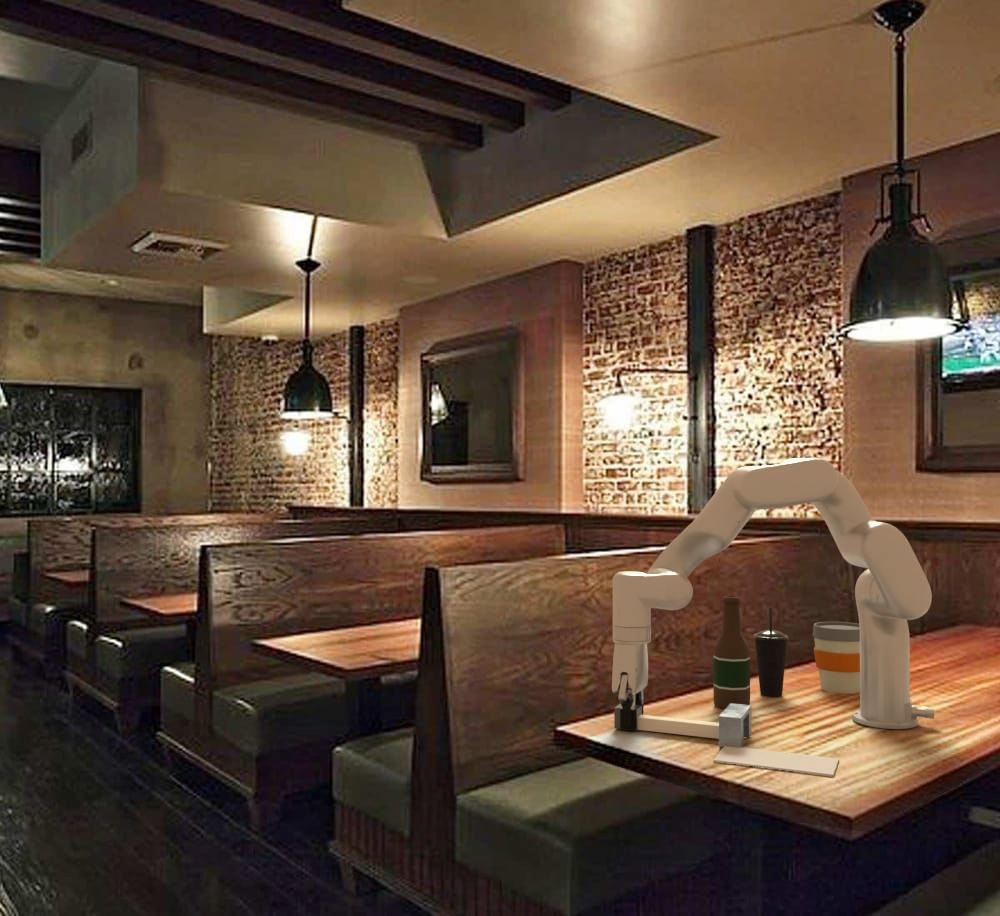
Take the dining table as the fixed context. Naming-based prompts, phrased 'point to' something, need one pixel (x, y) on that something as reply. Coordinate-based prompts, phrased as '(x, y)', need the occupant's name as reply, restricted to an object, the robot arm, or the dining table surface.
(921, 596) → the robot arm
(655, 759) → the dining table surface
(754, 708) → the dining table surface
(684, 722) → the cream rectangular bar
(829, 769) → the mat
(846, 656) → the reusable coffee cup
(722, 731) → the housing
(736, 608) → the beer bottle
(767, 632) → the drinking cup
